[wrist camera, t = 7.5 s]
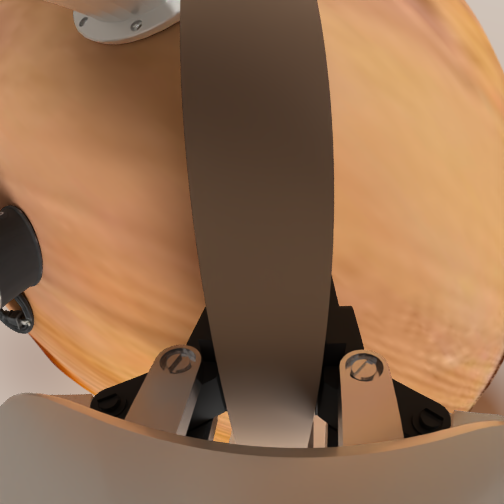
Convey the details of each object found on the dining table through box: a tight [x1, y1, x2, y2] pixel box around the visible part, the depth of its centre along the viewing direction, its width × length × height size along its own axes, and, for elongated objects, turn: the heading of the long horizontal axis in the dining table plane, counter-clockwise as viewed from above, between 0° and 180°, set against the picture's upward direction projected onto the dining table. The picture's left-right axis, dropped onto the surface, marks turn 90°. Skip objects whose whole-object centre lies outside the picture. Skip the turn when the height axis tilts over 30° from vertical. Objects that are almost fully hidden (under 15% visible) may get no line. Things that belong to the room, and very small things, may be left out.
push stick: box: [180, 0, 334, 448], centre depth 9 cm, size 19×4×5 cm, turn 4°
